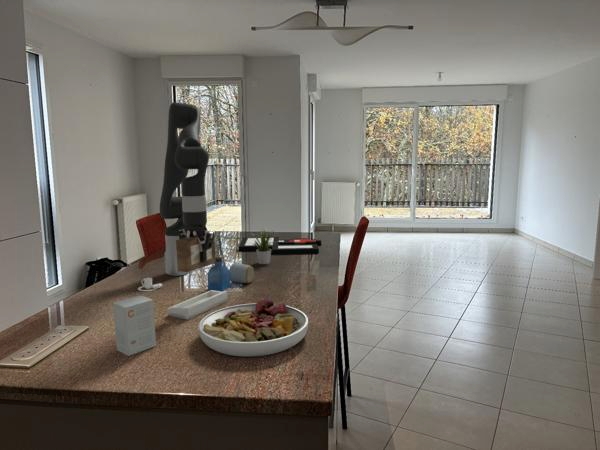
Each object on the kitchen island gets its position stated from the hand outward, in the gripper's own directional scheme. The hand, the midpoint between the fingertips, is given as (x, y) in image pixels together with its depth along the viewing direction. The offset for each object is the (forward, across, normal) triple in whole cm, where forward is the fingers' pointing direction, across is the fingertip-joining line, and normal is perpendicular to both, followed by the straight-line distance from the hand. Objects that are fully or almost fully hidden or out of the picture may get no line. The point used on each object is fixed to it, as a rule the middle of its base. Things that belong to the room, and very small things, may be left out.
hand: (197, 261), depth 145 cm
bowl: (+16, -30, +12) cm, 36 cm away
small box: (+16, -6, +32) cm, 36 cm away
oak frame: (+2, 0, 0) cm, 2 cm away
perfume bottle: (+16, +8, -21) cm, 28 cm away
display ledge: (+16, 0, 0) cm, 16 cm away
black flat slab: (+17, +25, -98) cm, 103 cm away
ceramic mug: (+16, +5, -33) cm, 37 cm away
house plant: (+16, +13, -63) cm, 66 cm away
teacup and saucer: (+17, +31, -8) cm, 36 cm away
